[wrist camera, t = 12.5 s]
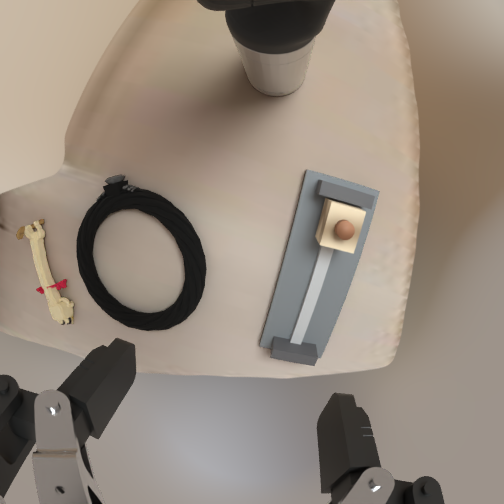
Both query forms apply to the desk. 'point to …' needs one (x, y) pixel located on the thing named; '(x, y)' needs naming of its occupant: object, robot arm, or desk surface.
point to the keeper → (340, 225)
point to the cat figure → (47, 275)
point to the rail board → (314, 273)
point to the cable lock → (176, 222)
